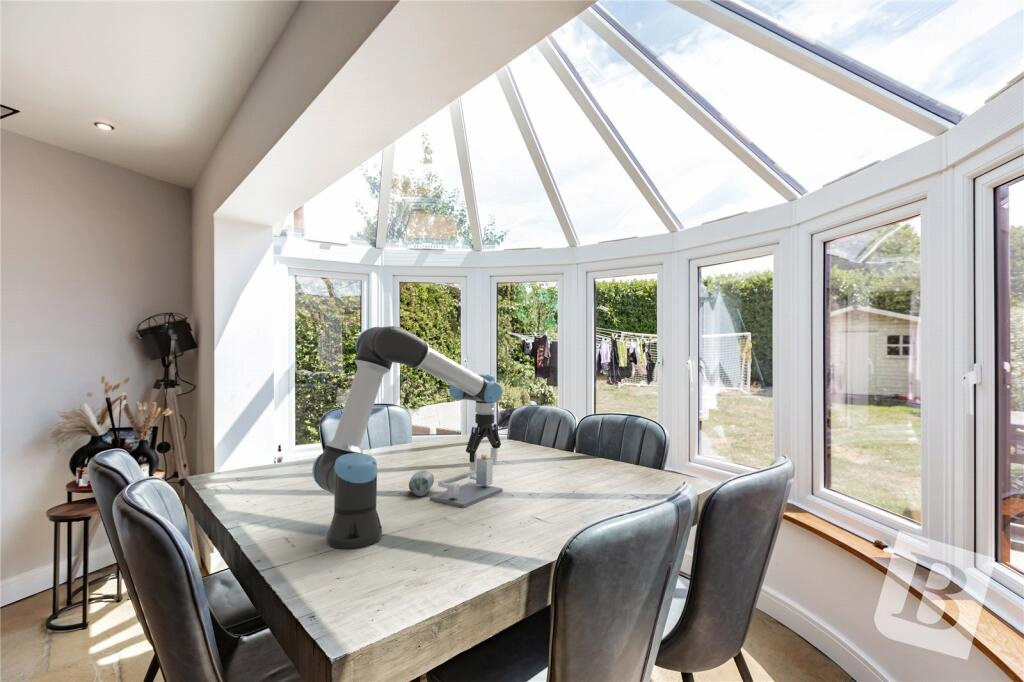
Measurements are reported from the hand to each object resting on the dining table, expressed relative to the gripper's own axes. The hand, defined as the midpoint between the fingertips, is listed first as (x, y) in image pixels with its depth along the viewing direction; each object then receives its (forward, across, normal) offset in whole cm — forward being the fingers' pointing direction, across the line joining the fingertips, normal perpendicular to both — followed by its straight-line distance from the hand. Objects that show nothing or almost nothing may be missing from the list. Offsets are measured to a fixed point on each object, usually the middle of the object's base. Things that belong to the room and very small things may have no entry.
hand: (483, 467), depth 186 cm
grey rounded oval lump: (+10, -16, +18) cm, 26 cm away
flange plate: (+9, -9, +1) cm, 13 cm away
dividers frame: (+8, -8, +3) cm, 12 cm away
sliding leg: (+7, +1, +2) cm, 8 cm away
